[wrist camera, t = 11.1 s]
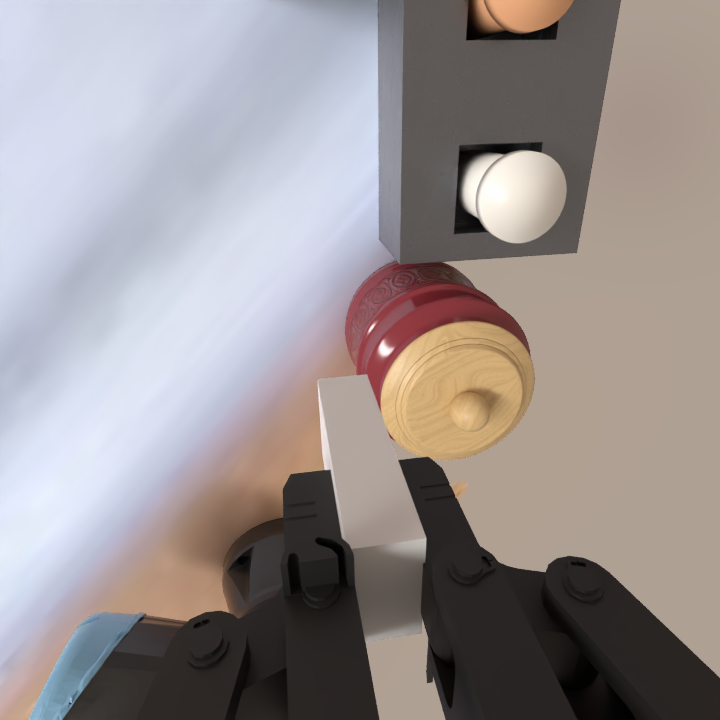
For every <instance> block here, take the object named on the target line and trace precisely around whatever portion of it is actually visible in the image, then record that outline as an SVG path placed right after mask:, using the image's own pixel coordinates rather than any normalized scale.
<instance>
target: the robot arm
mask: <svg viewBox="0 0 720 720" xmlns="http://www.w3.org/2000/svg"><path fill="white" fill-rule="evenodd" d="M317 381H318V396H319V410H320V425H321V440H322V454H323V460H324V467H325V470H322V471H314V472H305V473H297V474H291V475H290V477H289V478H288V480H287V482H286V484H285V486H284V488H283V507H284V509H283V510H284V518H283V519H277V520H273V521H269V522H266V523H263V524H261V525H258V526H256V527H254V528H253V529H251V530H249V531H248V532H246V533H245V534H243V535H242V536H241V537H240V538H239V539H238V540H237V541H236V542H235V543H234V544H233V545H232V547H231V548H230V550H229V551H228V553H227V555H226V558H225V561H224V569H223V580H222V585H223V592H224V596H225V599H226V602H227V606H228V609H229V612H230V613H227V612H223V611H214V612H205V613H203V614H201V615H199V616H196V617H194V618H192V619H190V620H189V621H181V620H174V619H168V618H161V617H154V616H148V615H146V613H139V614H137V615H135V614H121V613H109V612H101V613H97V614H94V615H92V616H90V617H88V618H87V619H86V620H84V621H83V622H82V623H81V624H80V625H79V626H78V628H77V629H76V630H75V632H74V633H73V635H72V637H71V638H70V640H69V642H68V643H67V645H66V647H65V648H64V650H63V652H62V654H61V656H60V658H59V659H58V661H57V663H56V665H55V667H54V669H53V671H52V673H51V675H50V677H49V679H48V681H47V682H46V684H45V687H44V689H43V691H42V693H41V695H40V697H39V699H38V701H37V703H36V705H35V707H34V709H33V711H32V714H31V716H30V718H29V720H379V715H378V710H377V705H376V699H375V694H374V688H373V682H372V677H371V671H370V666H369V660H368V655H367V649H366V643H365V642H371V641H377V640H383V639H389V638H395V637H401V636H407V635H413V634H419V633H421V632H422V618H423V622H424V625H425V629H426V632H427V635H428V654H427V670H426V673H427V683H431V682H432V681H433V677H434V680H435V684H436V687H437V691H438V694H439V698H440V701H441V704H442V708H443V712H444V715H445V719H446V720H720V678H719V677H718V676H717V675H716V674H715V673H714V672H713V671H712V670H711V669H710V668H709V667H708V666H706V664H704V663H703V661H701V660H700V659H699V658H698V657H697V656H696V655H695V654H694V653H693V652H692V651H691V650H690V649H689V648H688V647H687V646H686V645H685V644H683V642H682V641H680V640H679V639H678V638H677V637H676V636H675V635H674V634H673V633H672V632H671V631H670V630H669V629H668V628H667V627H666V626H665V625H664V624H663V623H662V622H660V620H659V619H657V618H656V617H655V616H654V615H653V614H652V613H651V612H650V611H649V610H648V609H647V608H646V607H645V606H644V605H643V604H642V603H641V602H640V601H639V600H637V599H636V598H635V597H634V596H633V595H632V594H631V593H630V592H629V591H628V590H627V589H626V588H625V587H624V586H623V585H622V584H621V583H619V581H618V580H617V579H616V578H614V577H613V576H612V575H611V574H610V573H609V572H608V571H606V570H605V569H604V568H602V567H601V566H600V565H598V564H597V563H594V562H592V561H589V560H587V559H585V558H580V557H573V556H567V557H562V558H557V559H556V560H554V561H553V562H551V563H550V564H549V565H548V568H547V570H546V572H538V571H531V570H524V569H517V568H513V567H509V566H506V565H504V564H501V563H499V562H498V561H497V560H496V559H495V557H494V556H493V555H492V554H491V553H489V552H488V551H486V550H485V549H484V548H482V547H480V545H479V544H478V542H477V540H476V538H475V536H474V534H473V532H472V530H471V528H470V525H469V523H468V521H467V519H466V517H465V515H464V513H463V511H462V509H461V507H460V504H459V502H458V500H457V498H455V494H454V492H453V490H452V488H451V486H450V485H449V481H448V479H447V477H446V475H445V473H444V471H443V469H442V468H441V467H440V466H439V465H437V463H435V462H434V461H433V460H432V459H431V458H429V457H421V458H413V459H405V460H398V459H397V456H396V453H395V450H394V448H393V445H392V442H391V439H390V436H389V434H388V431H387V428H386V425H385V423H384V420H383V417H382V414H381V412H380V409H379V406H378V403H377V401H376V398H375V395H374V392H373V390H372V387H371V384H370V381H369V379H368V376H367V374H365V375H354V376H343V377H333V378H322V379H317Z"/></svg>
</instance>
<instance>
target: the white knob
mask: <svg viewBox="0 0 720 720" xmlns="http://www.w3.org/2000/svg"><path fill="white" fill-rule="evenodd" d="M566 192H567V187H566V179H565V176H564V173H563V171H562V169H561V167H560V166H559V164H558V163H557V162H556V161H555V160H554V159H553V158H551V157H550V156H548V155H546V154H543V153H540V152H534V151H528V150H518V151H513V152H510V153H507V154H505V155H504V154H499V153H494V152H489V151H484V150H478V149H475V150H469V151H466V152H464V153H462V154H461V155H459V159H458V175H457V191H456V206H457V207H458V208H460V209H462V210H464V211H466V212H467V213H469V214H471V215H473V216H475V217H477V218H479V220H480V222H481V224H482V225H483V227H484V228H485V229H486V230H487V231H488V232H489V233H491V234H492V235H494V236H496V237H497V238H499V239H501V240H503V241H506V242H509V243H525V242H529V241H532V240H534V239H536V238H538V237H540V236H541V235H543V234H544V233H546V232H547V231H548V230H549V229H550V228H551V227H552V226H553V225H554V223H555V222H556V221H557V219H558V217H559V216H560V214H561V212H562V210H563V207H564V204H565V200H566Z"/></svg>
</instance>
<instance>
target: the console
mask: <svg viewBox="0 0 720 720" xmlns="http://www.w3.org/2000/svg"><path fill="white" fill-rule="evenodd" d="M620 2H621V0H574V1H573V3H572V4H571V6H570V7H569V9H568V10H567V11H566V13H565V14H564V15H563V16H562V17H561V18H560V19H559V20H557V21H556V22H555V23H553V24H552V25H550V26H548V27H546V28H543V29H540V30H537V31H533V32H529V33H522V34H520V33H513V32H510V31H507V30H506V31H503V32H500V33H497V34H494V35H491V36H488V37H485V38H482V39H476V40H474V39H467V38H466V31H467V15H468V0H378V78H379V240H380V241H381V242H382V244H383V245H384V246H385V247H386V248H387V250H388V251H389V252H390V253H391V254H392V256H393V257H394V258H395V259H396V260H397V262H398V263H399V264H400V265H401V264H416V263H431V262H446V261H461V260H476V259H491V258H506V257H522V256H536V255H552V254H567V253H577V248H578V243H579V237H580V231H581V225H582V220H583V214H584V209H585V203H586V197H587V191H588V185H589V180H590V174H591V168H592V163H593V157H594V150H595V145H596V140H597V134H598V128H599V122H600V117H601V111H602V105H603V100H604V93H605V88H606V82H607V77H608V71H609V65H610V60H611V54H612V48H613V42H614V37H615V31H616V25H617V19H618V14H619V8H620ZM475 149H478V150H484V151H489V152H494V153H499V154H504V155H505V154H507V153H510V152H513V151H518V150H528V151H534V152H540V153H543V154H546V155H548V156H550V157H551V158H553V159H554V160H555V161H556V162H557V163H558V164H559V166H560V167H561V169H562V171H563V173H564V176H565V179H566V187H567V192H566V200H565V204H564V207H563V210H562V212H561V214H560V216H559V217H558V219H557V221H556V222H555V223H554V225H553V226H552V227H551V228H550V229H549V230H548V231H547V232H546V233H544V234H543V235H541V236H540V237H538V238H536V239H534V240H532V241H529V242H525V243H509V242H506V241H503V240H501V239H499V238H497V237H496V236H494V235H492V234H491V233H489V232H488V231H487V230H486V229H485V228H484V227H483V225H482V224H481V222H480V220H479V218H477V217H475V216H473V215H471V214H469V213H467V212H466V211H464V210H462V209H460V208H458V207H457V206H456V191H457V175H458V159H459V155H461V154H462V153H464V152H466V151H469V150H475Z"/></svg>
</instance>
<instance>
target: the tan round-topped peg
mask: <svg viewBox="0 0 720 720" xmlns="http://www.w3.org/2000/svg"><path fill="white" fill-rule="evenodd" d="M573 1H574V0H468V15H467V31H466V38H467V39H474V40H476V39H482V38H485V37H488V36H491V35H494V34H497V33H500V32H503V31H506V30H507V31H510V32H513V33H520V34H522V33H529V32H533V31H537V30H540V29H543V28H546V27H548V26H550V25H552V24H553V23H555V22H556V21H557V20H559V19H560V18H561V17H562V16H563V15H564V14H565V13H566V11H567V10H568V9H569V7H570V6H571V4H572V3H573Z"/></svg>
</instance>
